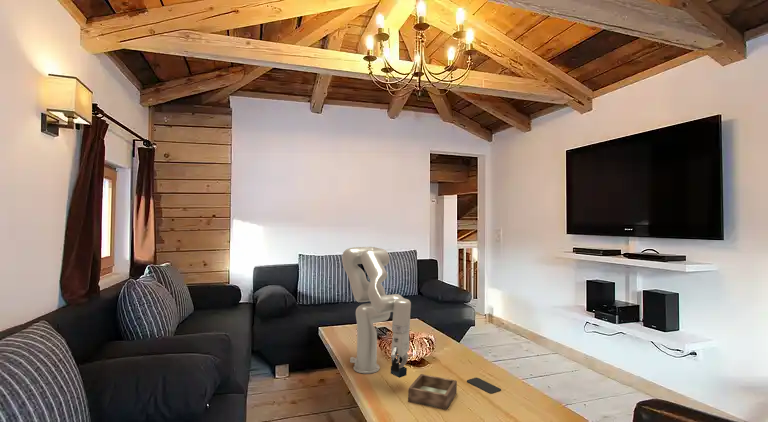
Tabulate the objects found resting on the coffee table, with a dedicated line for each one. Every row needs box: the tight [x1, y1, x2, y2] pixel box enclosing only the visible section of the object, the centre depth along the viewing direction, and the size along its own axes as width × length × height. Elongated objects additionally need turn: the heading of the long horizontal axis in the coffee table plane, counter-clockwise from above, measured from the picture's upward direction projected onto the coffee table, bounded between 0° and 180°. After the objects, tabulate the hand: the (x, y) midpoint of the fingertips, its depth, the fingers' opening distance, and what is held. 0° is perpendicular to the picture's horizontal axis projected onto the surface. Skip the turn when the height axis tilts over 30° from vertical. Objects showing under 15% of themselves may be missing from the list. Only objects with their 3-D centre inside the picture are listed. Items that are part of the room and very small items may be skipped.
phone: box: [466, 377, 502, 395], centre depth 185 cm, size 7×1×15 cm
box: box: [407, 373, 458, 411], centre depth 172 cm, size 16×16×6 cm
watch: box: [390, 352, 409, 379], centre depth 180 cm, size 6×8×11 cm
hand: (398, 367), depth 180 cm, fingers closed on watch, 8 cm apart
